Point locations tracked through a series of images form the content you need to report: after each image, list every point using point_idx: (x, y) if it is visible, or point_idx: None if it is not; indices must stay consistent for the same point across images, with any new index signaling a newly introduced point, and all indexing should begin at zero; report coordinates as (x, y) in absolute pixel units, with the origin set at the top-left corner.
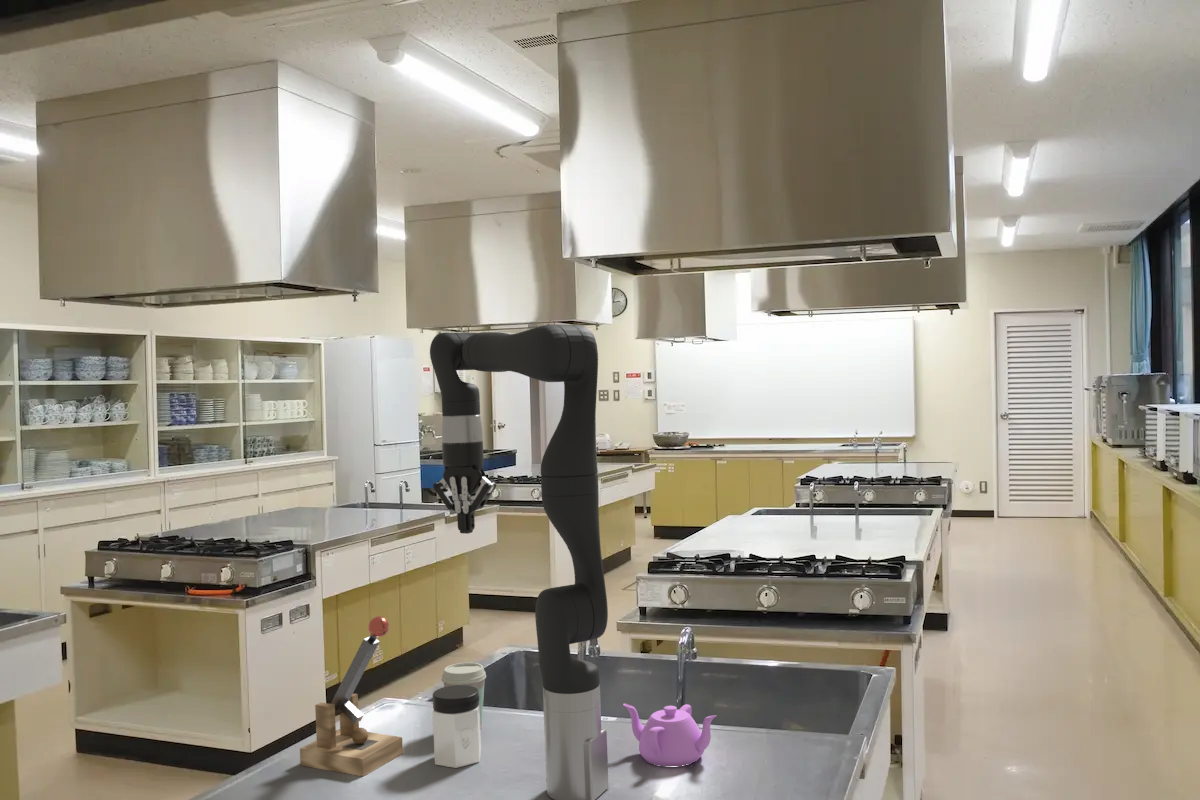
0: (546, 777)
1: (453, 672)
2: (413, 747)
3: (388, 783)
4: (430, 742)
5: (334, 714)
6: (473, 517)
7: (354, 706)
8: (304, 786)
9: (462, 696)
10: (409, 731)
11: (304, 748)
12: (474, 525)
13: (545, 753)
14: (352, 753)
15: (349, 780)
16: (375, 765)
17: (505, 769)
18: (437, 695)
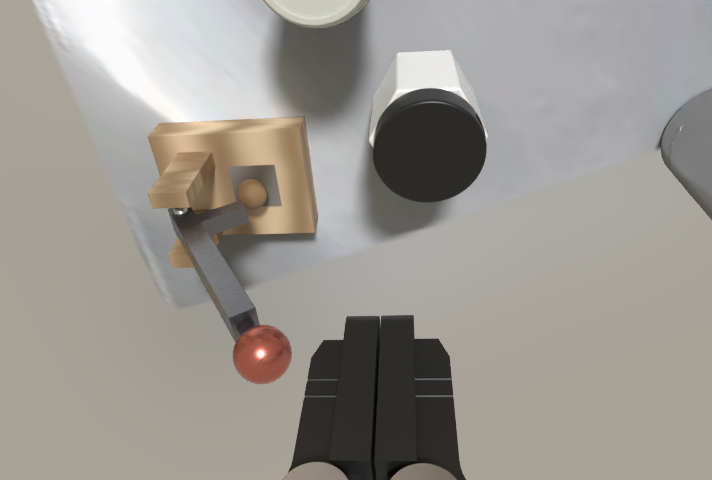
0: (676, 177)
1: (307, 7)
2: (298, 81)
3: (375, 220)
4: (310, 43)
5: None
6: (457, 443)
7: (219, 217)
8: (265, 269)
9: (466, 177)
10: (217, 6)
11: None
12: (449, 366)
13: (695, 199)
14: (278, 221)
15: (309, 233)
16: (313, 192)
17: (542, 101)
18: (404, 191)
